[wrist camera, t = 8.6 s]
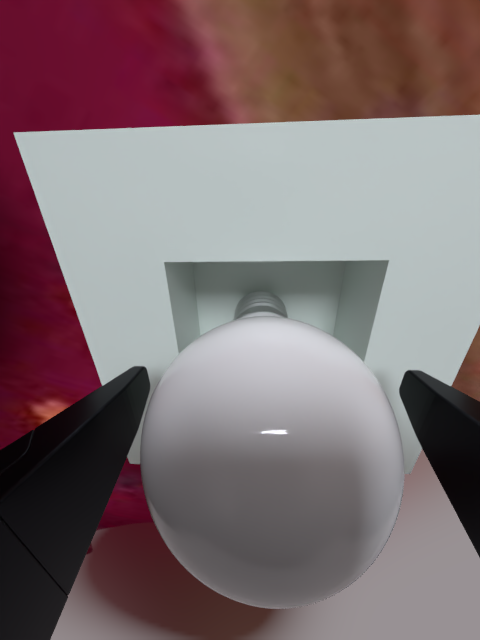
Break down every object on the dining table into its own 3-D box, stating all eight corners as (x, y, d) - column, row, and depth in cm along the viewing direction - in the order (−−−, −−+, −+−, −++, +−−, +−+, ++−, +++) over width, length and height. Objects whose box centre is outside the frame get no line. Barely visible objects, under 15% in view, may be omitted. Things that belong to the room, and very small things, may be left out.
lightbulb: (324, 245, 12) (596, 483, 2) (317, 355, 15) (430, 664, 5) (192, 255, 13) (-10, 483, 3) (210, 360, 16) (137, 648, 6)
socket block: (159, 397, 19) (129, 463, 14) (104, 151, 12) (13, 132, 7) (371, 402, 18) (410, 473, 13) (448, 140, 11) (579, 110, 6)
